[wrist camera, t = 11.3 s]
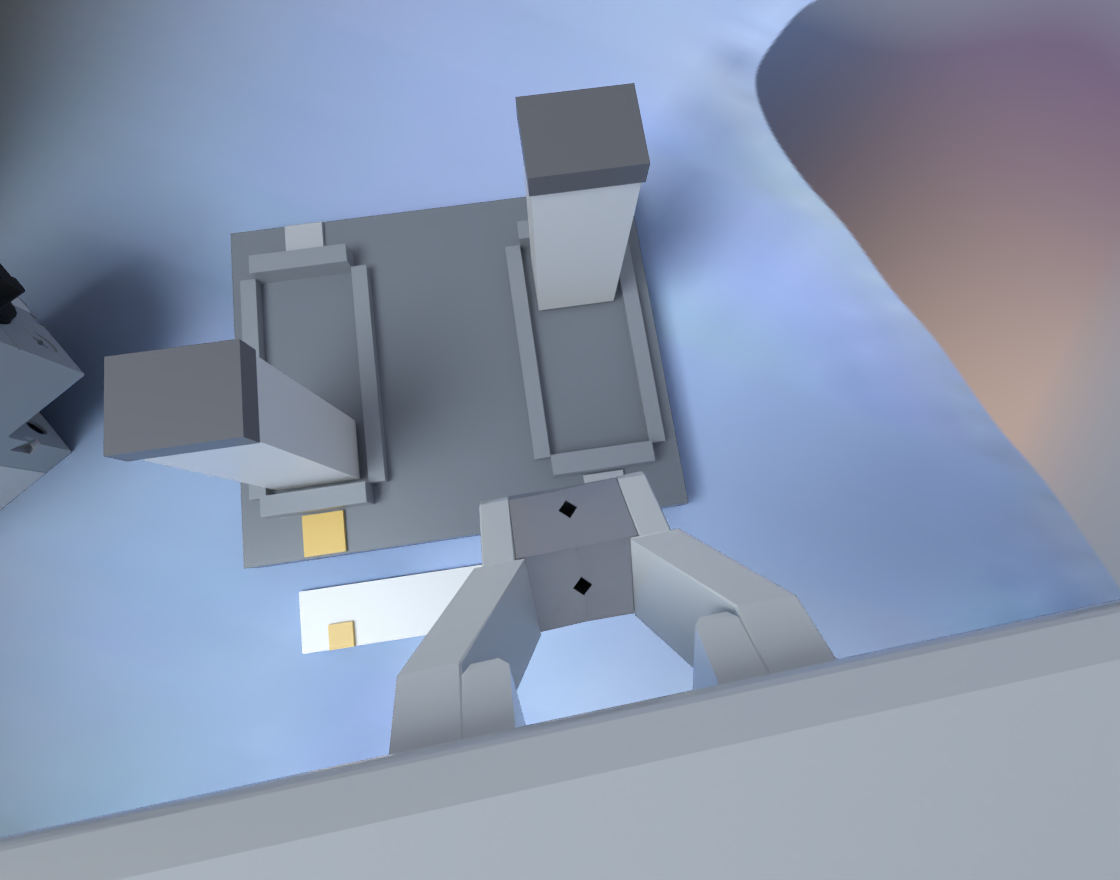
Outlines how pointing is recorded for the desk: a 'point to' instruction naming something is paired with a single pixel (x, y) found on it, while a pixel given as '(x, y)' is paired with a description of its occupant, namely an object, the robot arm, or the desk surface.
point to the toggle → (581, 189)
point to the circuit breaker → (28, 393)
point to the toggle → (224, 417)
